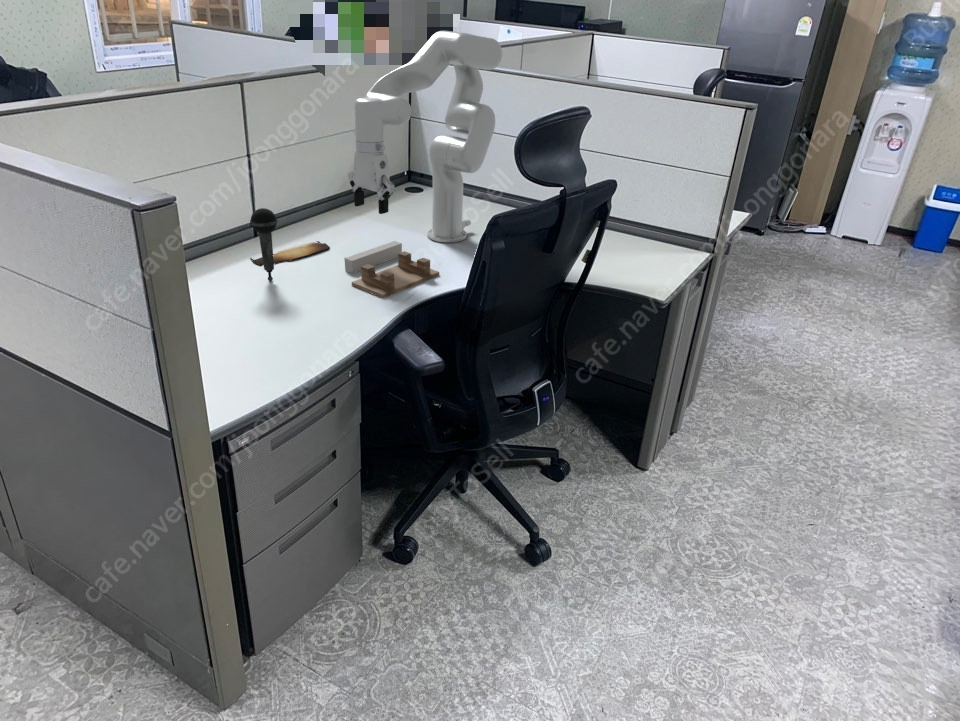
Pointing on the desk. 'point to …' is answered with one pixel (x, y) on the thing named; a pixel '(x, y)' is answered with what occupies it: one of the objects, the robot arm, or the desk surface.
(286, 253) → the parchment
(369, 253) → the clay strip
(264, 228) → the microphone
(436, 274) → the wooden pegged board
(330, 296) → the desk surface
